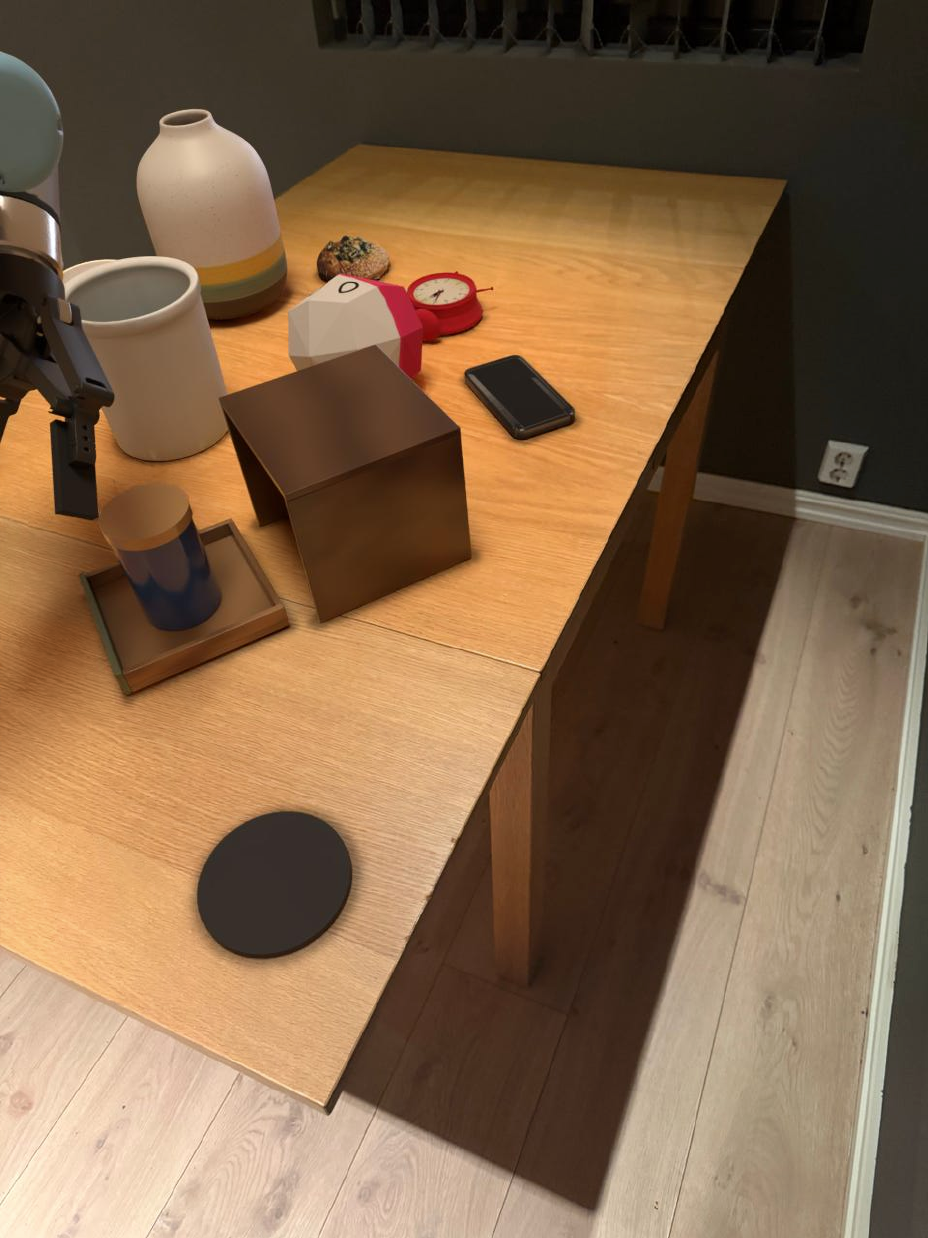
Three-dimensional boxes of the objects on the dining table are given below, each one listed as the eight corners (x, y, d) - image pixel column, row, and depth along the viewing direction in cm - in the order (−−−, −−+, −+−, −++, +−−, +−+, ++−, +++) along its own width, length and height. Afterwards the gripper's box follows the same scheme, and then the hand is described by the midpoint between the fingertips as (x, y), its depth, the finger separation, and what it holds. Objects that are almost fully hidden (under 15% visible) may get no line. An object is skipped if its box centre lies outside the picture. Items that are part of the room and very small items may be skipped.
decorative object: (432, 253, 99) (340, 277, 89) (457, 386, 106) (373, 422, 95) (340, 269, 109) (247, 292, 98) (368, 391, 115) (283, 424, 105)
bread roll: (302, 269, 131) (300, 234, 128) (363, 254, 137) (363, 220, 133) (344, 296, 125) (343, 260, 122) (407, 279, 131) (407, 245, 127)
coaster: (167, 902, 63) (164, 898, 62) (274, 791, 69) (272, 787, 68) (277, 990, 58) (275, 987, 58) (382, 862, 64) (381, 858, 63)
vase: (272, 333, 119) (224, 141, 101) (156, 330, 122) (91, 143, 104) (309, 275, 130) (272, 93, 113) (202, 273, 133) (150, 96, 116)
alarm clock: (503, 285, 116) (416, 302, 107) (498, 332, 120) (413, 352, 111) (450, 262, 121) (364, 277, 113) (447, 308, 125) (362, 326, 117)
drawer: (125, 695, 76) (114, 675, 74) (88, 594, 85) (77, 573, 83) (290, 625, 81) (283, 604, 79) (237, 535, 90) (230, 515, 88)
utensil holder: (265, 413, 106) (226, 271, 93) (173, 480, 98) (117, 335, 85) (180, 382, 112) (133, 244, 99) (87, 442, 104) (23, 302, 91)
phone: (516, 433, 97) (461, 370, 107) (517, 441, 98) (461, 378, 108) (579, 412, 99) (519, 352, 109) (579, 421, 100) (519, 360, 109)
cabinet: (320, 623, 81) (284, 494, 70) (257, 523, 91) (218, 397, 81) (472, 558, 85) (460, 427, 75) (395, 469, 96) (375, 343, 85)
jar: (125, 612, 82) (79, 520, 74) (186, 564, 86) (149, 472, 78) (180, 645, 79) (137, 552, 71) (241, 593, 83) (207, 500, 75)
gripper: (152, 221, 63) (176, 500, 59) (-22, 357, 77) (-12, 592, 73) (53, 170, 57) (71, 477, 53) (-117, 328, 71) (-113, 582, 67)
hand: (23, 544), depth 63 cm, fingers open, 13 cm apart
